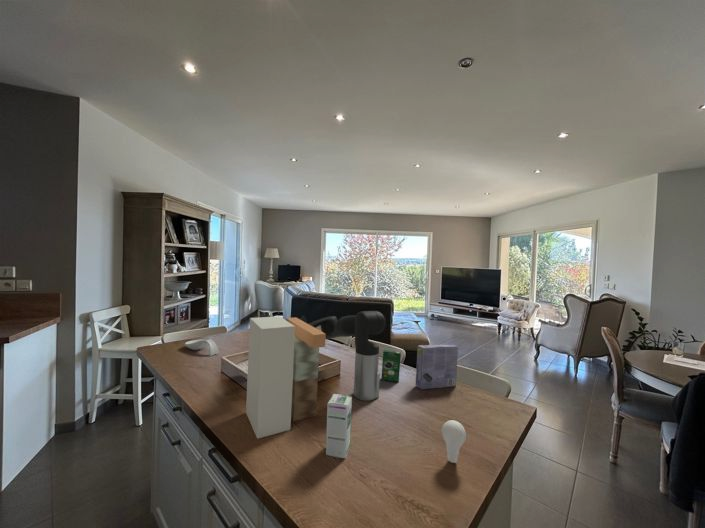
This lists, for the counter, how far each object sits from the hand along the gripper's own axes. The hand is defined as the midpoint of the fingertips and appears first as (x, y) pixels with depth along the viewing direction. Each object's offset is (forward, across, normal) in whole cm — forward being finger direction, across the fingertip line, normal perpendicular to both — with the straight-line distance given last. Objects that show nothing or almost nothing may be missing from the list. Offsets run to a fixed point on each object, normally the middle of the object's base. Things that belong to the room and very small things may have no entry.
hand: (293, 319), depth 109 cm
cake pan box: (-1, +61, +34) cm, 70 cm away
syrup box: (+15, +2, +43) cm, 46 cm away
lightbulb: (+30, +27, +52) cm, 66 cm away
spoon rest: (-78, -24, -10) cm, 82 cm away
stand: (-5, -11, +32) cm, 34 cm away
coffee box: (-13, +46, +27) cm, 55 cm away
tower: (-5, 0, +32) cm, 32 cm away
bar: (+7, 0, +9) cm, 11 cm away
